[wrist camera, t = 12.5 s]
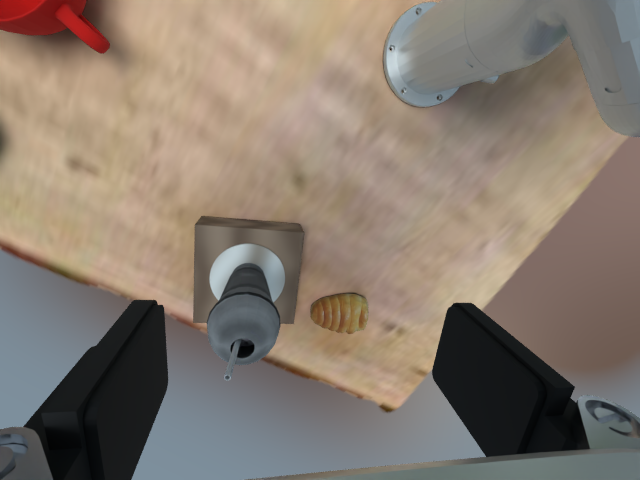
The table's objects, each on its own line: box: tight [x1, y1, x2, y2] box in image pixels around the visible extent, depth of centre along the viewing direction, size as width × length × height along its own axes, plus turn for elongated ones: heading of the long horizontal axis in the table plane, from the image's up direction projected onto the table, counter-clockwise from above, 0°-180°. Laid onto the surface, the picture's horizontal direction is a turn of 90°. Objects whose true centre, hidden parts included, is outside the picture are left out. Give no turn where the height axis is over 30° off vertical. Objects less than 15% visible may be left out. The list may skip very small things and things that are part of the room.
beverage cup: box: [207, 263, 280, 381], centre depth 33 cm, size 7×7×20 cm
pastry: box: [311, 293, 368, 334], centre depth 51 cm, size 9×7×4 cm
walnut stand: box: [193, 216, 304, 324], centre depth 45 cm, size 14×14×5 cm
